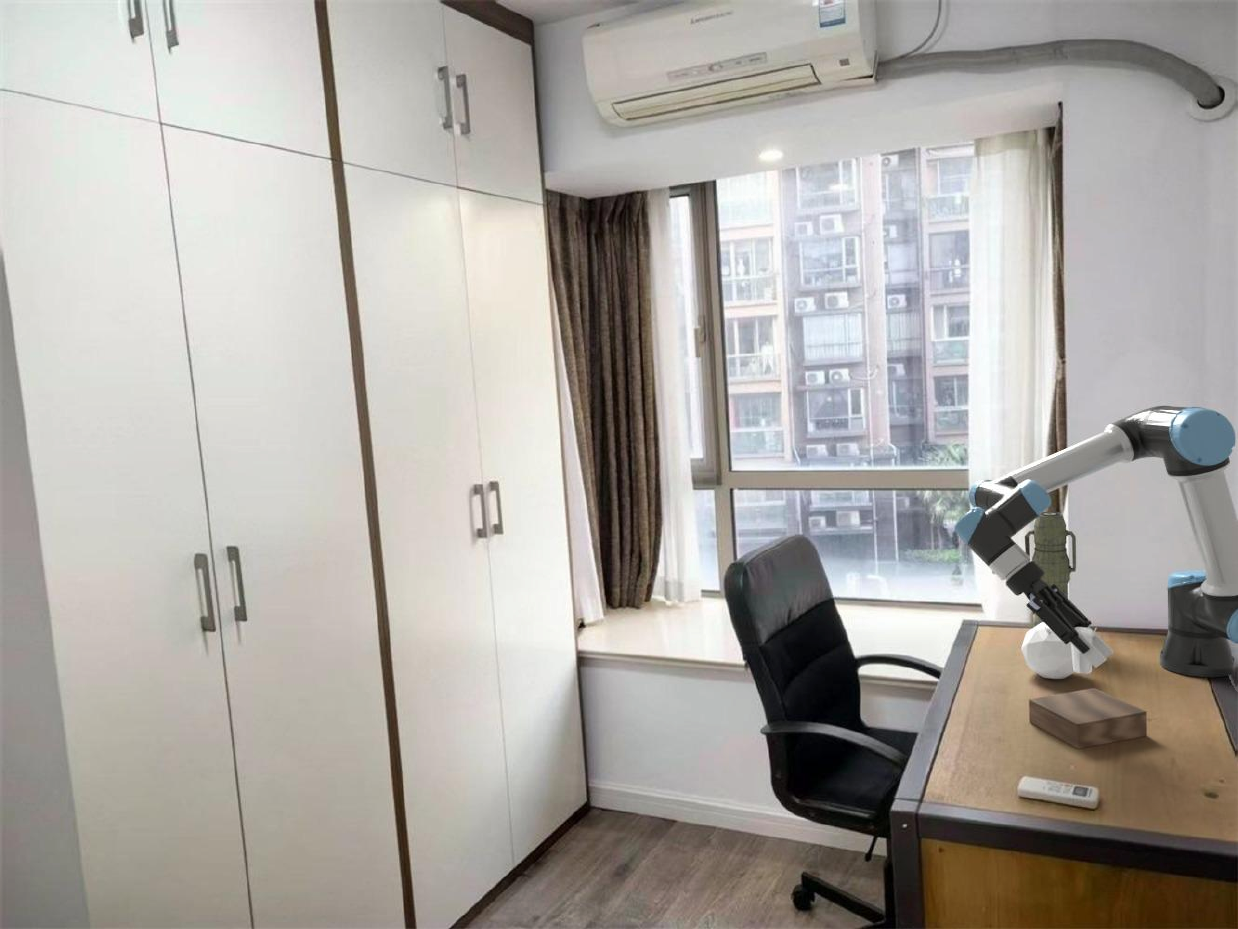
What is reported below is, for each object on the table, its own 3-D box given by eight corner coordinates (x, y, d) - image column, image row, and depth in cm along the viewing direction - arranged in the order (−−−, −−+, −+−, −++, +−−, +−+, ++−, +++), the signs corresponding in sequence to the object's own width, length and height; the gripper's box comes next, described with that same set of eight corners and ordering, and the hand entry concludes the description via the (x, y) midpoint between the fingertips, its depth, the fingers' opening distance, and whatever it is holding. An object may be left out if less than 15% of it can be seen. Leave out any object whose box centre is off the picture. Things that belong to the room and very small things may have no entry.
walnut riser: (1094, 710, 191) (1094, 688, 191) (1146, 735, 178) (1146, 711, 177) (1029, 722, 188) (1029, 699, 187) (1077, 748, 174) (1077, 724, 174)
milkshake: (1089, 678, 178) (1088, 630, 177) (1065, 670, 183) (1064, 623, 181) (1103, 673, 180) (1103, 625, 179) (1079, 665, 185) (1078, 619, 183)
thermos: (1026, 638, 240) (1023, 510, 236) (1076, 640, 235) (1073, 510, 231) (1027, 648, 232) (1024, 516, 228) (1078, 651, 227) (1076, 516, 223)
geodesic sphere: (1090, 670, 199) (1085, 612, 206) (1023, 666, 204) (1020, 609, 211) (1085, 689, 211) (1080, 633, 217) (1021, 685, 216) (1019, 631, 222)
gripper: (1018, 572, 196) (1102, 657, 187) (990, 591, 183) (1078, 683, 174) (1043, 551, 192) (1130, 637, 183) (1016, 568, 179) (1108, 662, 170)
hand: (1104, 659), depth 178 cm, fingers closed on milkshake, 5 cm apart
